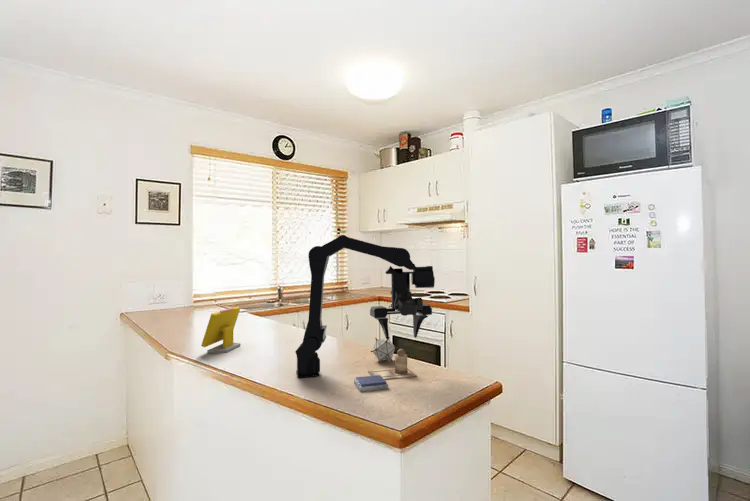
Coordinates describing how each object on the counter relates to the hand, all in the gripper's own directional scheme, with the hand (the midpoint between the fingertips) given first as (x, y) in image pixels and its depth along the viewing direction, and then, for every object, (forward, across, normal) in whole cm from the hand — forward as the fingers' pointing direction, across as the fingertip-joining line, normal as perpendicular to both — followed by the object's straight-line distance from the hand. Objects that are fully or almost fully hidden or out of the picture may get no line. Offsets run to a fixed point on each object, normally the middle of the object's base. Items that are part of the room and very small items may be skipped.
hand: (401, 338), depth 120 cm
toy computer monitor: (+11, -56, +51) cm, 76 cm away
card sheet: (+11, -3, 0) cm, 11 cm away
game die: (+11, -1, +15) cm, 18 cm away
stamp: (+10, 0, 0) cm, 10 cm away
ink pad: (+11, -12, -8) cm, 18 cm away
